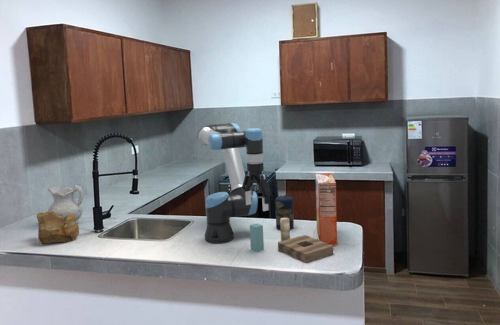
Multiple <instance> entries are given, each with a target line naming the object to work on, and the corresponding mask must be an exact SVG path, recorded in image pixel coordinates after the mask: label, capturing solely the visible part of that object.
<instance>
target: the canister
mask: <svg viewBox="0 0 500 325" xmlns="http://www.w3.org/2000/svg"><path fill="white" fill-rule="evenodd" d="M274 203H275V204H274V206H275V226H276V228H277V229H279V230H281V225H280V219H281V218H289V222H290V230H291V229H292V228H294V226H295V225H294V224H295V221H294V220H295V219H294V218H295V217H294V198H293V197H292V196H290V195H287V194H286V195H279V196H277V197H275V201H274Z"/></svg>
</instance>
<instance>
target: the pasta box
mask: <svg viewBox="0 0 500 325" xmlns="http://www.w3.org/2000/svg"><path fill="white" fill-rule="evenodd" d="M334 178H335V177H333V174H332V173H315V201H316V202H315V205H316V208H315V209H316V211H315V212H316V213H315V214H316V233H317V236H318V237H317V238H318V240H319V241H322V242H325V243H327V244H330V245H332V246H334V245H335V246H337V245H338V226H337V225H338V218H337V182H336V180H335V179H334Z"/></svg>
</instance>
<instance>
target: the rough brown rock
mask: <svg viewBox="0 0 500 325" xmlns="http://www.w3.org/2000/svg"><path fill="white" fill-rule="evenodd" d="M36 219H37V222H38V225H37V226H38V232H37V233H38V235H37V236H38V239H39V241H40V244H41V245H47V244H49V243H54V242H56V243H58V242H59V243H69V242H70V241H73V240H75V239H76V238H77V237H78V236H79V234H80V229H79V223H78V222H77V221H76V219H75V215H73V214H68V215H67V216H65V217H61V216H58V215H56V214H55V213H54V212H53V211H48V210H47V211H45V212H39V213H37V214H36ZM76 222H77V223H78V224H77V223H76Z"/></svg>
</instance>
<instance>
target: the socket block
mask: <svg viewBox="0 0 500 325" xmlns="http://www.w3.org/2000/svg"><path fill="white" fill-rule="evenodd" d="M277 251H279V252H280V253H283V254H285V255H287V256H290V257H292V258H294V259H295V260H298V261H300V262H302V263H304V264H307V263H310V262H313V261H317V260H319V259H323V258H325V257H328V256H329V257H330V256H333V255H334V245H330V244H327V243H325V242H322V241H319V239H316V238H315V237H312V236H308V235H307V234H302V235H300V236H299V235H298V236H296V237H295V236H294V237H292V238H291V237H290V239H288V240H284V241H281V240H280V241H278V242H277Z"/></svg>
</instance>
